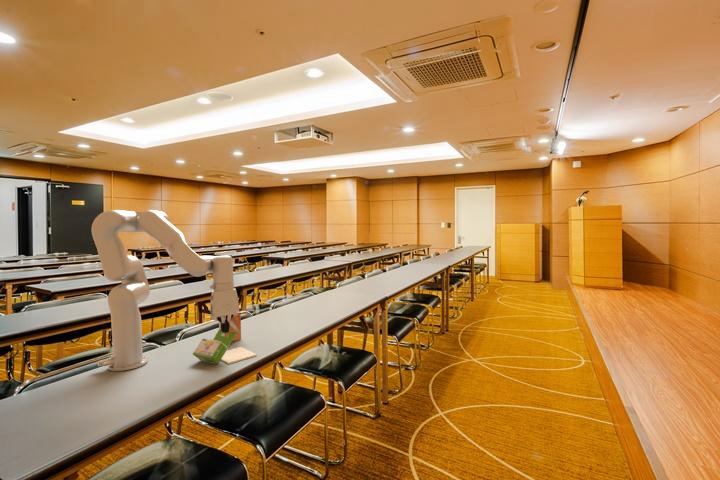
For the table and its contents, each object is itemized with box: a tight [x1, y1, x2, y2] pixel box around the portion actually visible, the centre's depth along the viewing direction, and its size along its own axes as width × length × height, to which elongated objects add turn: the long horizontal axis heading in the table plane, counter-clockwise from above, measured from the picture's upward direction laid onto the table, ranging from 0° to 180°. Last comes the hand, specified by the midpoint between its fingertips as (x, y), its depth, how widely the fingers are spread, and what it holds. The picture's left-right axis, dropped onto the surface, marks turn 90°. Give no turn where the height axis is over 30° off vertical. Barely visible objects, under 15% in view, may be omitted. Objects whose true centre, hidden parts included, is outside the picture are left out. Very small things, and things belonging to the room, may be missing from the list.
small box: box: [218, 311, 242, 342], centre depth 165 cm, size 8×6×13 cm
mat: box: [220, 346, 258, 365], centre depth 143 cm, size 12×14×1 cm
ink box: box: [192, 328, 237, 365], centre depth 139 cm, size 10×5×14 cm
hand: (225, 332), depth 140 cm, fingers closed
